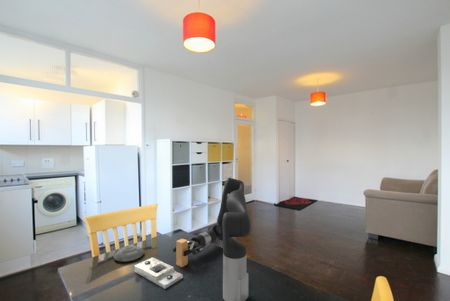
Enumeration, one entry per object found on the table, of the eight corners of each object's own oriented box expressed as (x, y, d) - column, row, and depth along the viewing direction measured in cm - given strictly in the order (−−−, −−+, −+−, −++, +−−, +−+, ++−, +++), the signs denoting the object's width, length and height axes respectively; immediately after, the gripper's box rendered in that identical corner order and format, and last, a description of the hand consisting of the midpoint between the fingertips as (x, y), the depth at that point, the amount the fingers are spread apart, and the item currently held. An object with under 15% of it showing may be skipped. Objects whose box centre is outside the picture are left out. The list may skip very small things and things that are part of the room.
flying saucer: (150, 253, 125) (150, 243, 125) (128, 266, 112) (128, 255, 112) (130, 248, 132) (130, 239, 132) (107, 260, 118) (107, 249, 118)
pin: (187, 264, 114) (187, 240, 114) (181, 267, 111) (181, 243, 111) (182, 261, 116) (182, 238, 116) (176, 264, 113) (176, 241, 113)
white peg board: (182, 277, 102) (182, 270, 102) (164, 289, 94) (164, 280, 94) (152, 263, 115) (152, 256, 115) (134, 271, 107) (134, 264, 107)
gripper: (191, 231, 129) (168, 241, 116) (211, 237, 121) (188, 248, 107) (191, 244, 129) (168, 255, 116) (211, 251, 121) (188, 264, 107)
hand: (178, 252), depth 112 cm, fingers open, 6 cm apart
